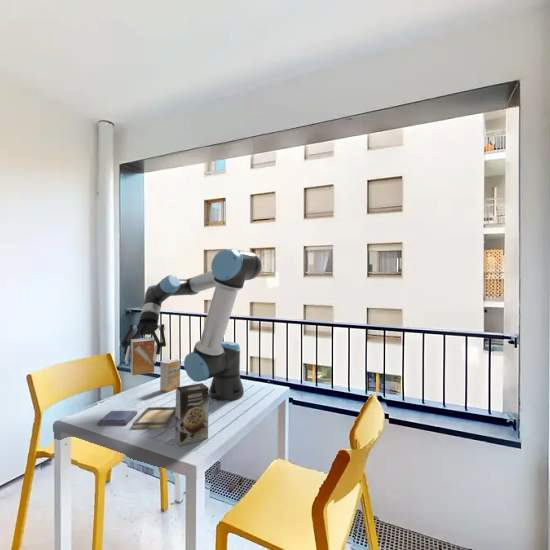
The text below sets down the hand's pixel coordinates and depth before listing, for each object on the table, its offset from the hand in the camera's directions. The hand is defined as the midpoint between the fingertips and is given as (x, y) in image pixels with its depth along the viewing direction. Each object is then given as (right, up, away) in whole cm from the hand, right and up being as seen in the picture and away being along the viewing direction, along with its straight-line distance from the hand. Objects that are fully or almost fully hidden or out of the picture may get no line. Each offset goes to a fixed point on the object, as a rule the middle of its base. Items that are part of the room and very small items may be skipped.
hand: (140, 361), depth 122 cm
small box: (0, -5, +3) cm, 6 cm away
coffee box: (+26, -19, -21) cm, 38 cm away
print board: (+9, -19, -8) cm, 22 cm away
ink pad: (-5, -19, -8) cm, 21 cm away
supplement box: (+4, -19, +24) cm, 31 cm away
